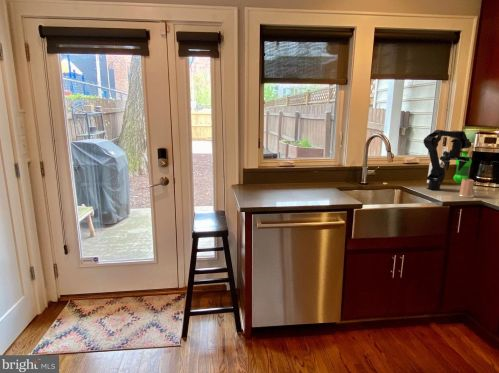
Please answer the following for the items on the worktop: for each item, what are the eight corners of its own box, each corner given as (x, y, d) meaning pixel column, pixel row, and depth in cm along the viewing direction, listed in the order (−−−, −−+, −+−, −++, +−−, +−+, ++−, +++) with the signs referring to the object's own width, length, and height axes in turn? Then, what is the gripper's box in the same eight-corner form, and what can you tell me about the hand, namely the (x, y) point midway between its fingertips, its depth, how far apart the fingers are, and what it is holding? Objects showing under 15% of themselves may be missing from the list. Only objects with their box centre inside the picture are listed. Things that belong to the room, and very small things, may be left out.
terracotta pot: (464, 195, 214) (467, 180, 211) (457, 193, 220) (460, 178, 218) (473, 195, 214) (476, 180, 212) (466, 193, 220) (469, 178, 218)
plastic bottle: (462, 181, 262) (467, 150, 256) (470, 184, 252) (476, 152, 246) (449, 181, 262) (454, 149, 256) (457, 184, 252) (462, 151, 246)
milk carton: (430, 181, 258) (434, 157, 254) (440, 183, 253) (444, 159, 248) (426, 183, 254) (430, 158, 249) (436, 184, 248) (440, 159, 244)
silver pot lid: (463, 197, 212) (464, 190, 211) (453, 193, 221) (454, 187, 220) (477, 197, 213) (478, 190, 212) (466, 193, 222) (468, 187, 221)
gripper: (460, 147, 240) (457, 168, 243) (436, 147, 238) (433, 168, 242) (472, 149, 229) (468, 171, 233) (446, 149, 227) (443, 171, 231)
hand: (452, 170), depth 235 cm, fingers open, 9 cm apart
